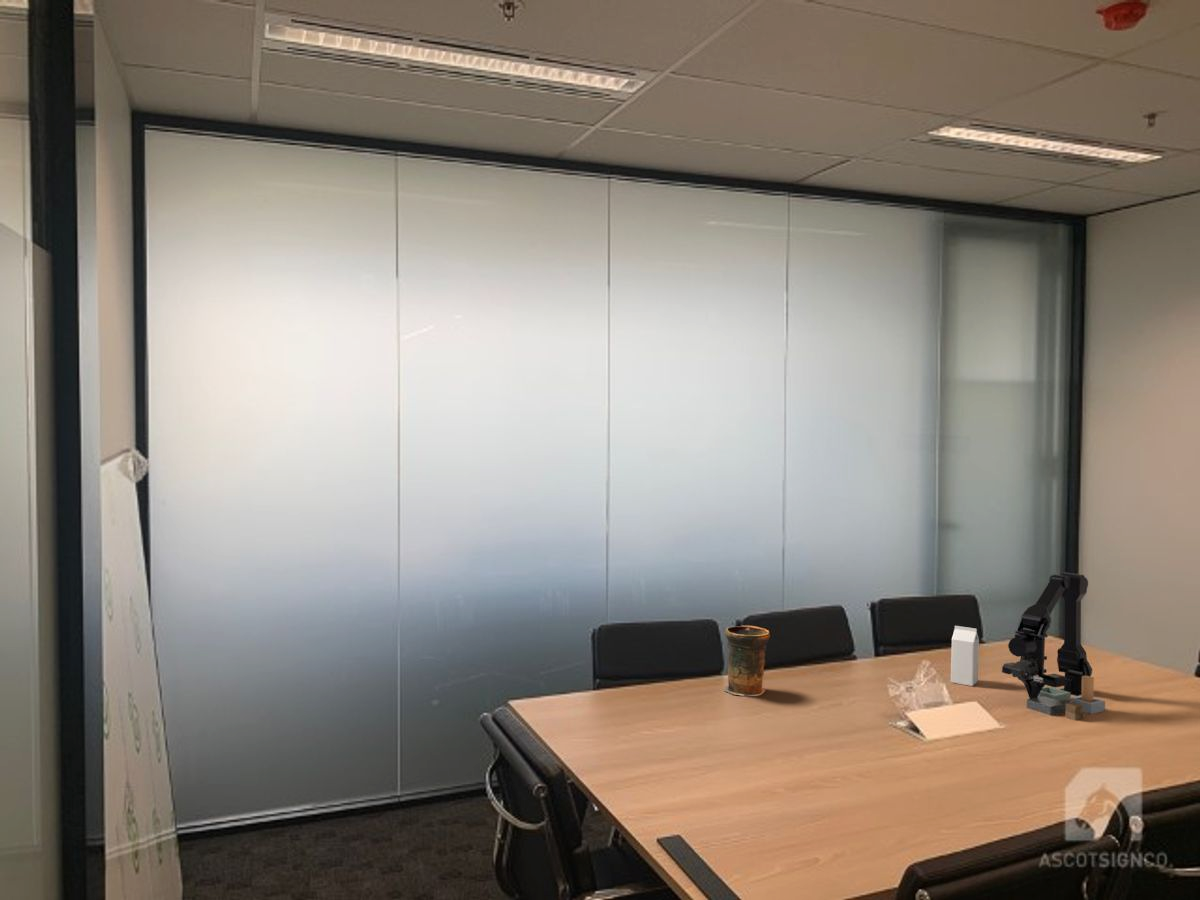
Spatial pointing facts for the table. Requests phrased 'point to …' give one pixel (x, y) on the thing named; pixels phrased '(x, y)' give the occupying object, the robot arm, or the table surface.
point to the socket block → (1089, 704)
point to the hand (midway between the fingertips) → (1032, 701)
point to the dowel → (1087, 688)
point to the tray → (1055, 694)
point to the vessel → (746, 659)
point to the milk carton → (964, 656)
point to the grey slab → (1046, 705)
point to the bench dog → (1074, 711)
